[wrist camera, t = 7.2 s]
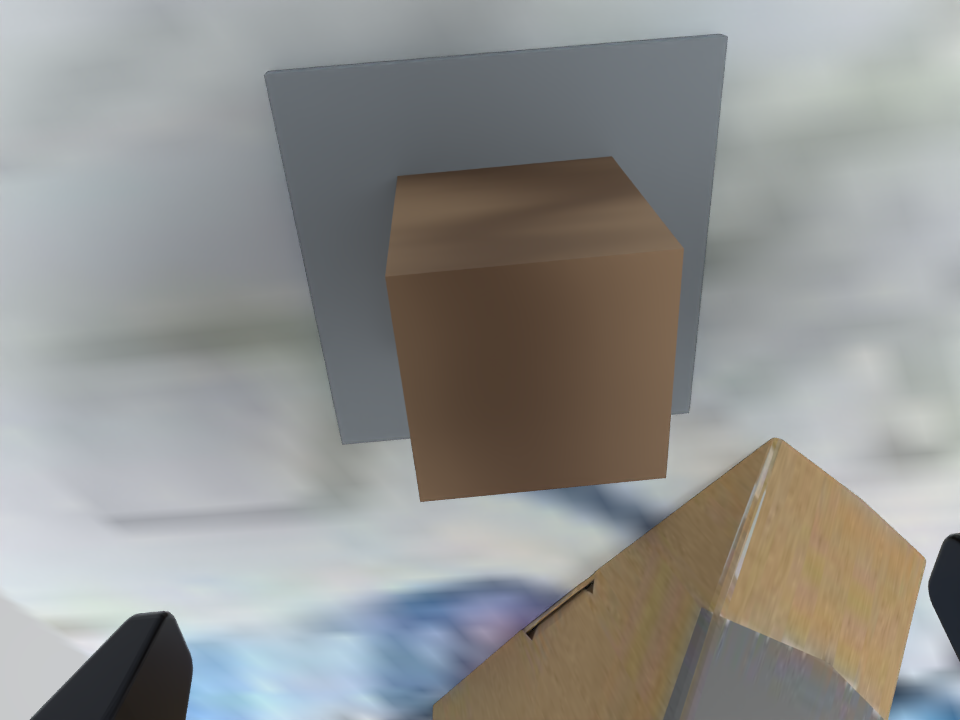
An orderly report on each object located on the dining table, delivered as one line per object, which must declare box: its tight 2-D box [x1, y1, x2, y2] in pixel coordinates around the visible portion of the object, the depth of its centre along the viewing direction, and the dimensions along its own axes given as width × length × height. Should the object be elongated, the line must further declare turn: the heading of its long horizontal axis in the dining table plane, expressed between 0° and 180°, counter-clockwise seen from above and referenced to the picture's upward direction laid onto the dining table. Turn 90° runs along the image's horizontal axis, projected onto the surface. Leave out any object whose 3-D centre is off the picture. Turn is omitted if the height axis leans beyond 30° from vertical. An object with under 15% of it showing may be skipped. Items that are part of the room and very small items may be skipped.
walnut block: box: [385, 156, 684, 502], centre depth 14 cm, size 4×4×5 cm
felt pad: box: [264, 34, 728, 445], centre depth 16 cm, size 9×9×1 cm
